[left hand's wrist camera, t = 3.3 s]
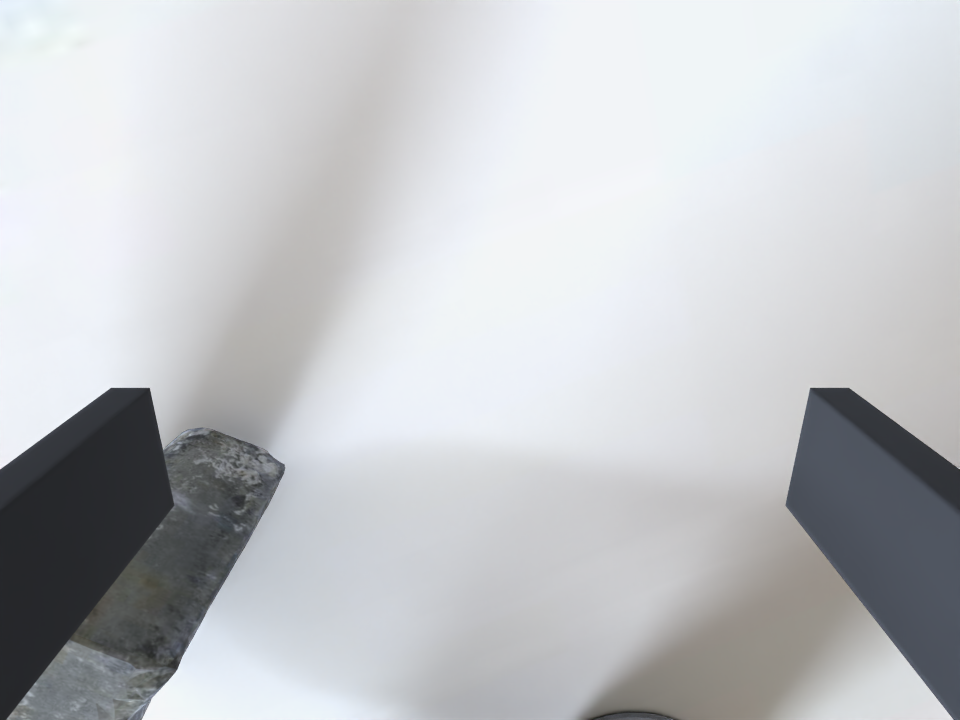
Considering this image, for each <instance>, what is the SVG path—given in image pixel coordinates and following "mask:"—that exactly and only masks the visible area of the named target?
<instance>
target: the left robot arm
mask: <svg viewBox="0 0 960 720" xmlns="http://www.w3.org/2000/svg"><path fill="white" fill-rule="evenodd" d="M173 507H174V501H173V496H172V491H171V486H170V482H169V477H168V472H167V467H166V463H165V458H164V453H163V449H162V444H161V439H160V434H159V430H158V425H157V420H156V415H155V411H154V406H153V401H152V397H151V392H150V388H110V389H109V390H108V391H106V392H105V393H104V394H102V395H101V396H100V397H98V398H97V399H96V400H94V401H93V402H91V403H90V404H89V405H87V406H86V407H85V408H83V409H82V410H81V411H79V412H78V413H76V414H75V415H74V416H72V417H71V418H70V419H68V420H67V421H66V422H64V423H63V424H62V425H60V426H59V427H57V428H56V429H55V430H53V431H52V432H51V433H49V434H48V435H47V436H45V437H44V438H43V439H41V440H40V441H38V442H37V443H36V444H34V445H33V446H32V447H30V448H29V449H28V450H26V451H25V452H24V453H22V454H21V455H19V456H18V457H17V458H15V459H14V460H13V461H11V462H10V463H9V464H7V465H6V466H5V467H3V468H2V469H0V720H6V719H7V718H8V717H9V716H10V714H11V713H12V712H13V710H14V709H15V708H16V707H17V705H18V704H19V703H20V702H21V700H22V699H23V698H24V696H25V695H26V694H27V693H28V691H29V690H30V689H31V688H32V686H33V685H34V684H35V682H36V681H37V680H38V679H39V677H40V676H41V675H42V673H43V672H44V671H45V670H46V668H47V667H48V666H49V665H50V663H51V662H52V661H53V659H54V658H55V657H56V656H57V654H58V653H59V652H60V651H61V649H62V648H63V647H64V645H65V644H66V643H67V642H68V640H69V639H70V638H71V637H72V635H73V634H74V633H75V631H76V630H77V629H78V628H79V626H80V625H81V624H82V623H83V621H84V620H85V619H86V617H87V616H88V615H89V614H90V612H91V611H92V610H93V609H94V607H95V606H96V605H97V603H98V602H99V601H100V600H101V598H102V597H103V596H104V595H105V593H106V592H107V591H108V589H109V588H110V587H111V586H112V584H113V583H114V582H115V581H116V579H117V578H118V577H119V575H120V574H121V573H122V572H123V570H124V569H125V568H126V567H127V565H128V564H129V563H130V561H131V560H132V559H133V558H134V556H135V555H136V554H137V553H138V551H139V550H140V549H141V547H142V546H143V545H144V544H145V542H146V541H147V540H148V539H149V537H150V536H151V535H152V533H153V532H154V531H155V530H156V528H157V527H158V526H159V525H160V523H161V522H162V521H163V519H164V518H165V517H166V516H167V514H168V513H169V512H170V511H171V509H172V508H173ZM786 507H787V508H788V509H789V511H790V512H791V513H792V514H793V516H794V517H795V518H796V519H797V521H798V522H799V523H800V525H801V526H802V527H803V528H804V530H805V531H806V532H807V533H808V535H809V536H810V537H811V539H812V540H813V541H814V542H815V544H816V545H817V546H818V547H819V549H820V550H821V551H822V553H823V554H824V555H825V556H826V558H827V559H828V560H829V561H830V563H831V564H832V565H833V567H834V568H835V569H836V570H837V572H838V573H839V574H840V575H841V577H842V578H843V579H844V581H845V582H846V583H847V584H848V586H849V587H850V588H851V589H852V591H853V592H854V593H855V595H856V596H857V597H858V598H859V600H860V601H861V602H862V603H863V605H864V606H865V607H866V609H867V610H868V611H869V612H870V614H871V615H872V616H873V617H874V619H875V620H876V621H877V623H878V624H879V625H880V626H881V628H882V629H883V630H884V631H885V633H886V634H887V635H888V637H889V638H890V639H891V640H892V642H893V643H894V644H895V645H896V647H897V648H898V649H899V651H900V652H901V653H902V654H903V656H904V657H905V658H906V659H907V661H908V662H909V663H910V665H911V666H912V667H913V668H914V670H915V671H916V672H917V673H918V675H919V676H920V677H921V679H922V680H923V681H924V682H925V684H926V685H927V686H928V688H929V689H930V690H931V691H932V693H933V694H934V695H935V696H936V698H937V699H938V700H939V702H940V703H941V704H942V705H943V707H944V708H945V709H946V710H947V712H948V713H949V714H950V716H951V717H952V718H953V719H954V720H960V469H958V468H957V467H955V466H954V465H953V464H951V463H950V462H949V461H947V460H946V459H945V458H943V457H942V456H941V455H939V454H938V453H936V452H935V451H934V450H932V449H931V448H930V447H928V446H927V445H926V444H924V443H923V442H922V441H920V440H919V439H917V438H916V437H915V436H913V435H912V434H911V433H909V432H908V431H907V430H905V429H904V428H903V427H901V426H900V425H898V424H897V423H896V422H894V421H893V420H892V419H890V418H889V417H888V416H886V415H885V414H884V413H882V412H881V411H879V410H878V409H877V408H875V407H874V406H873V405H871V404H870V403H869V402H867V401H866V400H864V399H863V398H862V397H860V396H859V395H858V394H856V393H855V392H854V391H852V390H851V389H850V388H810V392H809V397H808V401H807V406H806V411H805V415H804V420H803V425H802V430H801V434H800V439H799V444H798V449H797V453H796V458H795V463H794V467H793V472H792V477H791V482H790V486H789V491H788V496H787V501H786ZM594 720H674V719H671V718H668V717H665V716H661V715H656V714H650V713H620V714H613V715H608V716H604V717H600V718H597V719H594Z"/></svg>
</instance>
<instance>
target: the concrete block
mask: <svg viewBox="0 0 960 720" xmlns="http://www.w3.org/2000/svg"><path fill="white" fill-rule="evenodd" d="M163 453H164V458H165V463H166V467H167V472H168V477H169V482H170V486H171V491H172V496H173V501H174V507H173V508H172V509H171V511H170V512H169V513H168V514H167V516H166V517H165V518H164V519H163V521H162V522H161V523H160V525H159V526H158V527H157V528H156V530H155V531H154V532H153V533H152V535H151V536H150V537H149V539H148V540H147V541H146V542H145V544H144V545H143V546H142V547H141V549H140V550H139V551H138V553H137V554H136V555H135V556H134V558H133V559H132V560H131V561H130V563H129V564H128V565H127V567H126V568H125V569H124V570H123V572H122V573H121V574H120V575H119V577H118V578H117V579H116V581H115V582H114V583H113V584H112V586H111V587H110V588H109V589H108V591H107V592H106V593H105V595H104V596H103V597H102V598H101V600H100V601H99V602H98V603H97V605H96V606H95V607H94V609H93V610H92V611H91V612H90V614H89V615H88V616H87V617H86V619H85V620H84V621H83V623H82V624H81V625H80V626H79V628H78V629H77V630H76V631H75V633H74V634H73V635H72V637H71V638H70V639H69V640H68V642H67V643H66V644H65V645H64V647H63V648H62V649H61V651H60V652H59V653H58V654H57V656H56V657H55V658H54V659H53V661H52V662H51V663H50V665H49V666H48V667H47V668H46V670H45V671H44V672H43V673H42V675H41V676H40V677H39V679H38V680H37V681H36V682H35V684H34V685H33V686H32V688H31V689H30V690H29V691H28V693H27V694H26V695H25V696H24V698H23V699H22V700H21V702H20V703H19V704H18V705H17V707H16V708H15V709H14V710H13V712H12V713H11V714H10V716H9V717H8V718H7V719H6V720H142V718H143V716H144V714H145V711H146V709H147V707H148V705H149V703H150V701H151V699H152V697H153V696H154V695H155V694H156V693H157V692H158V691H159V690H160V689H161V688H162V687H163V686H164V685H165V683H166V682H167V681H168V680H169V679H170V678H171V677H172V676H173V675H174V673H175V672H176V670H177V669H178V666H179V664H180V661H181V659H182V656H183V655H184V653H185V651H186V649H187V648H188V646H189V644H190V642H191V640H192V639H193V637H194V635H195V633H196V631H197V629H198V628H199V626H200V624H201V622H202V620H203V618H204V616H205V614H206V612H207V610H208V608H209V607H210V605H211V603H212V602H213V600H214V598H215V597H216V595H217V593H218V592H219V590H220V588H221V587H222V585H223V583H224V582H225V580H226V578H227V577H228V575H229V573H230V571H231V570H232V568H233V566H234V564H235V563H236V561H237V559H238V557H239V556H240V554H241V552H242V551H243V549H244V547H245V546H246V544H247V542H248V540H249V539H250V537H251V535H252V533H253V531H254V530H255V528H256V526H257V524H258V522H259V520H260V519H261V517H262V515H263V513H264V511H265V510H266V508H267V506H268V505H269V503H270V501H271V499H272V497H273V495H274V493H275V491H276V489H277V487H278V485H279V482H280V480H281V478H282V476H283V474H284V470H285V465H284V464H282V463H280V462H279V461H277V460H276V459H275V458H273V457H272V456H271V455H270V454H269V453H268V451H266V450H264V449H262V448H260V447H258V446H255V445H252V444H249V443H246V442H244V441H241V440H238V439H236V438H233V437H230V436H228V435H225V434H223V433H220V432H217V431H215V430H212V429H207V428H197V429H190V430H187V431H184V432H182V433H181V434H180V435H179V436H178V437H177V438H176V439H174V440H173V441H172V442H171V443H170V444H169V445H168V446H167V447H165V448H164V449H163Z"/></svg>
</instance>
